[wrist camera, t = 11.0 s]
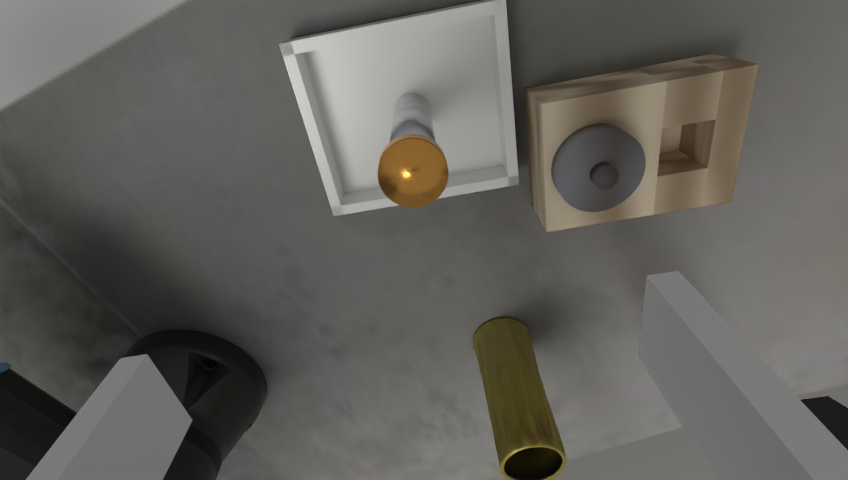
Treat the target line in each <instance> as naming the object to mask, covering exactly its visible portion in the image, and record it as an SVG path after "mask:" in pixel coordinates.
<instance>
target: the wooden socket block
mask: <svg viewBox="0 0 848 480" xmlns="http://www.w3.org/2000/svg"><path fill="white" fill-rule="evenodd" d="M758 66H759V64H755V63H751V62H747V61H742V60H738V59H733V58H729V57H725V56H720V55H716V54H709V55H703V56H698V57H693V58H687V59H682V60H677V61H671V62H666V63H660V64H655V65H650V66H644V67H639V68H633V69H628V70H623V71H617V72H612V73H607V74H601V75H596V76H590V77H585V78H580V79H574V80H569V81H564V82H558V83H553V84H547V85H542V86H537V87H531V88H526V89H525V99H526V117H527V134H528V152H529V170H530V187H531V204H532V206H533V208H534V210H535V212H536V214H537V216H538V217H539V219H540V221H541V223H542V225H543V227H544V228H545V230H546V232H551V231H557V230H563V229H569V228H575V227H582V226H588V225H594V224H600V223H606V222H612V221H619V220H625V219H631V218H637V217H643V216H649V215H655V214H662V213H668V212H674V211H680V210H686V209H692V208H699V207H705V206H711V205H717V204H723V203H729V202H731V200H732V195H733V190H734V185H735V180H736V175H737V170H738V165H739V161H740V156H741V151H742V146H743V141H744V136H745V131H746V126H747V121H748V116H749V111H750V106H751V101H752V96H753V91H754V86H755V81H756V76H757V71H758Z"/></svg>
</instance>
